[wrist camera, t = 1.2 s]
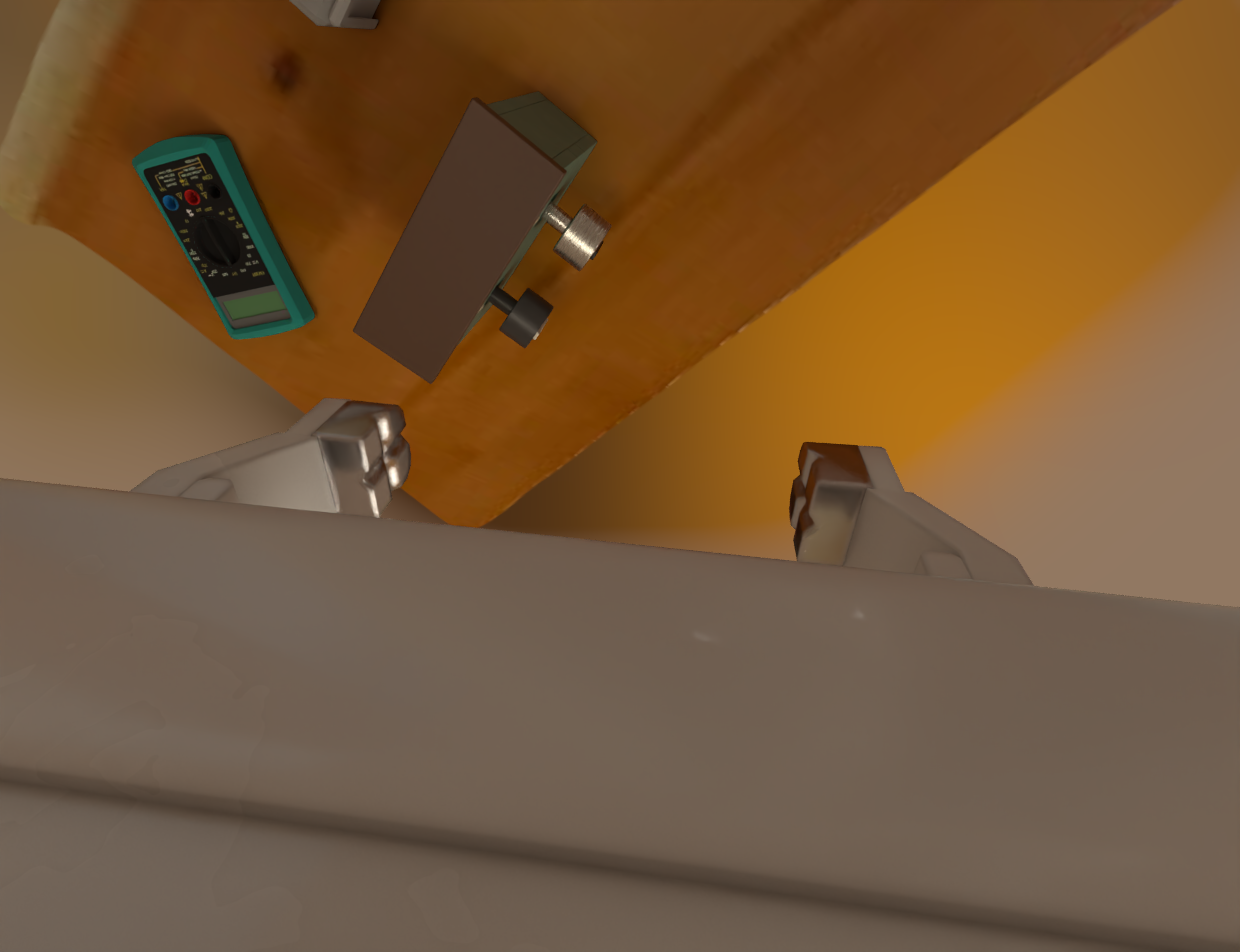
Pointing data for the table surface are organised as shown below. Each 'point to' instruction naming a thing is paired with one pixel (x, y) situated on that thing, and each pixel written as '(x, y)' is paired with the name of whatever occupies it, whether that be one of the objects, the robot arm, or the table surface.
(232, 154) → the digital multimeter
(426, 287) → the console
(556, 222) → the steel knob
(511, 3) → the table surface
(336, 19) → the camera
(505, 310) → the black knob
